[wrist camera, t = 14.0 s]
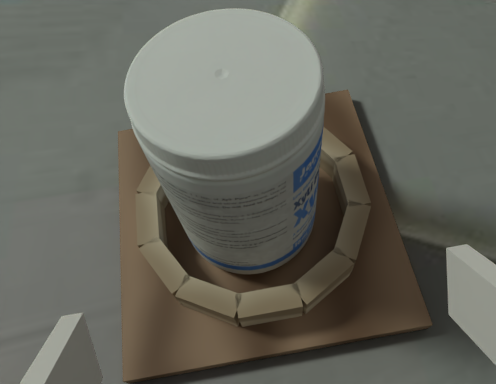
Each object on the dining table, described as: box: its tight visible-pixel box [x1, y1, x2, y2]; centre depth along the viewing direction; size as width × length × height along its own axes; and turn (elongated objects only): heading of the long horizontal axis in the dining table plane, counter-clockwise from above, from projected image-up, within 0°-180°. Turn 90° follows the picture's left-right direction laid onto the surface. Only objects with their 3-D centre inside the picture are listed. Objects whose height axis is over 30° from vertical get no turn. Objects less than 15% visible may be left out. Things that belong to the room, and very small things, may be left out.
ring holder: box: [118, 90, 433, 383], centre depth 32 cm, size 20×20×4 cm
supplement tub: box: [124, 8, 325, 274], centre depth 26 cm, size 10×10×15 cm
